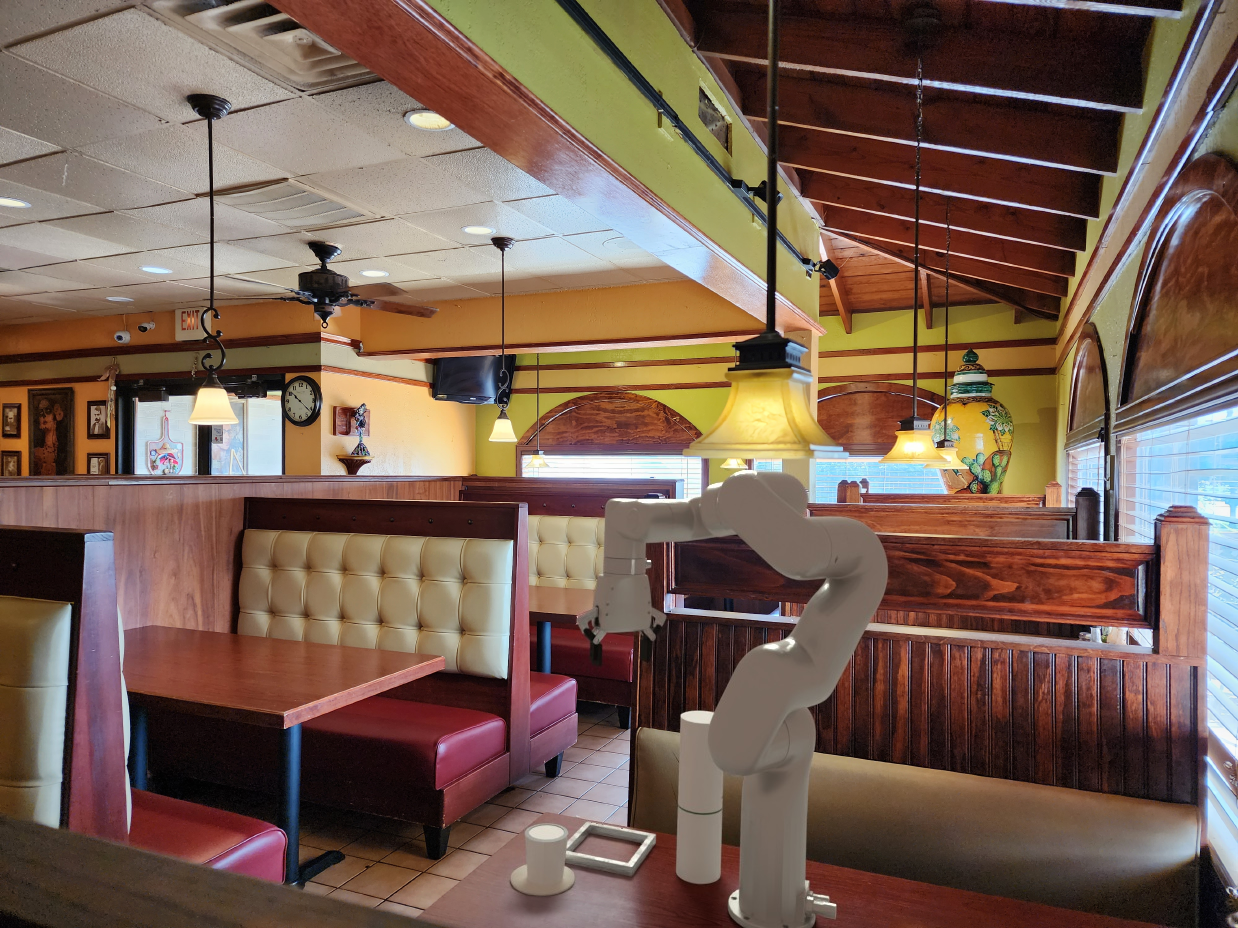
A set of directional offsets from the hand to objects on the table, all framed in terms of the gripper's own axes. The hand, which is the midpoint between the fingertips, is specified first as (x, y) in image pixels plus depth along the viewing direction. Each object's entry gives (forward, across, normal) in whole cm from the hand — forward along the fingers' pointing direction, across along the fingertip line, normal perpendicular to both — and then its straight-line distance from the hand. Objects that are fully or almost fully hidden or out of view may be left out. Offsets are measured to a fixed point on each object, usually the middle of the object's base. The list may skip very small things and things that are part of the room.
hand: (621, 663), depth 144 cm
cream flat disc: (+30, +18, +10) cm, 37 cm away
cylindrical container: (+31, -6, +18) cm, 36 cm away
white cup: (+30, +17, +10) cm, 36 cm away
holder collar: (+30, +4, +6) cm, 31 cm away
